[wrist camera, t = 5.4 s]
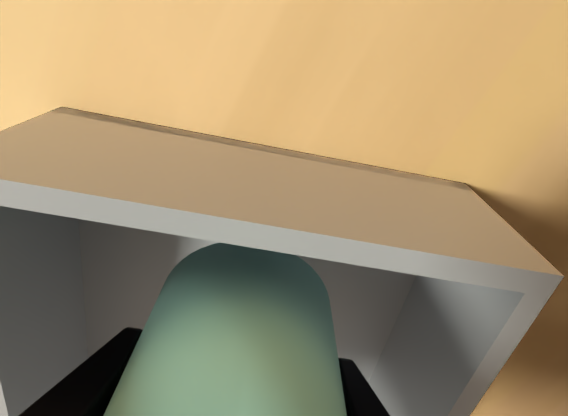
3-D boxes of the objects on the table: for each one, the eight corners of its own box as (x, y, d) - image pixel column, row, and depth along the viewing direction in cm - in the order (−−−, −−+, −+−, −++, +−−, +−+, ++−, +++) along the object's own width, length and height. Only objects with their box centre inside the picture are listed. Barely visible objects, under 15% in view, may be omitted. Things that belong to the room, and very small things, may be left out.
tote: (335, 466, 20) (349, 593, 16) (88, 437, 19) (28, 564, 15) (465, 183, 12) (564, 276, 8) (61, 106, 11) (-83, 165, 7)
